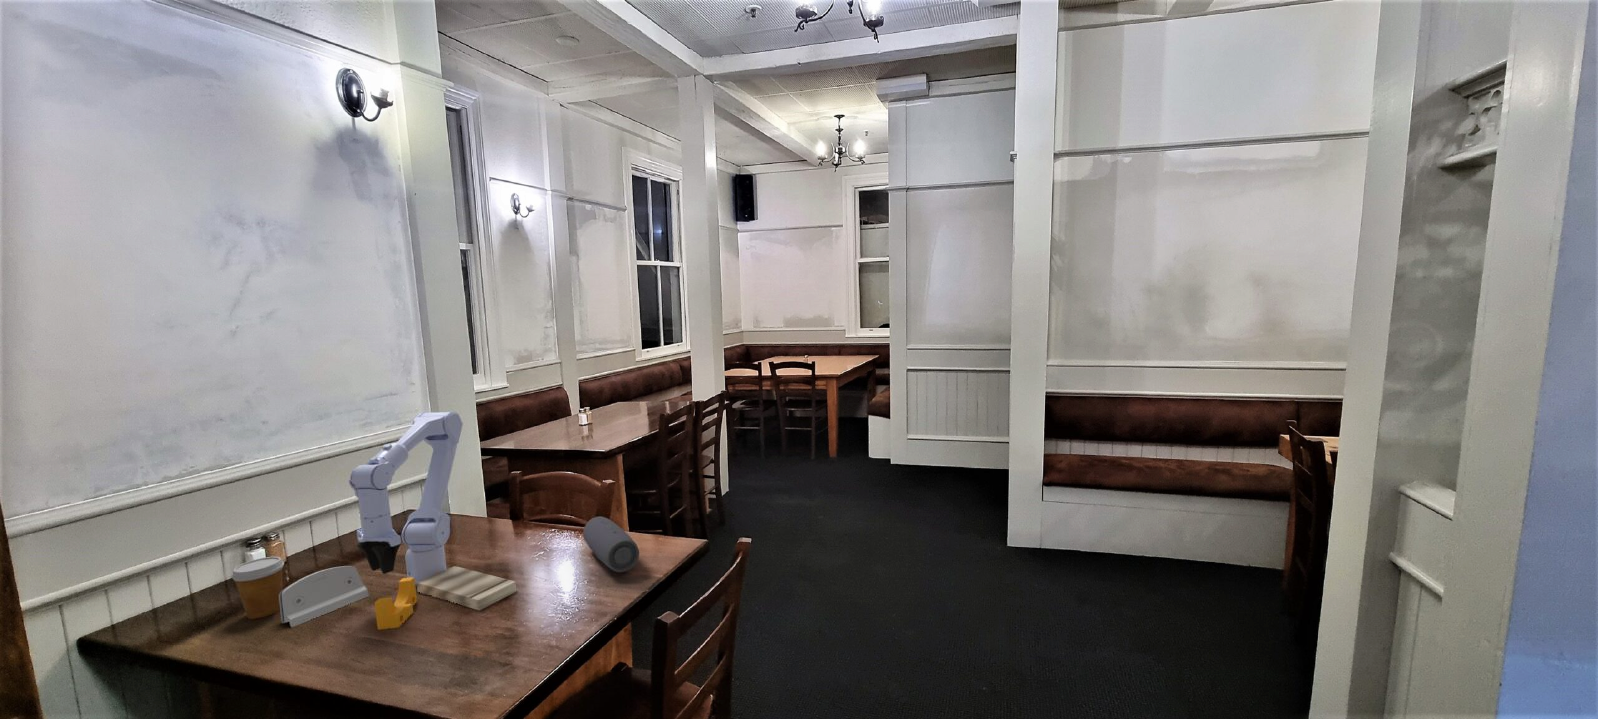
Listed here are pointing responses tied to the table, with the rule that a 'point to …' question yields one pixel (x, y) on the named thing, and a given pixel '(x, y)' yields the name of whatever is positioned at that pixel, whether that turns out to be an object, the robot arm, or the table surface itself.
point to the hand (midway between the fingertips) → (382, 570)
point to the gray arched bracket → (320, 594)
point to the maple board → (467, 587)
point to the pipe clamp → (396, 606)
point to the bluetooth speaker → (611, 544)
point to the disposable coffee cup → (259, 585)
